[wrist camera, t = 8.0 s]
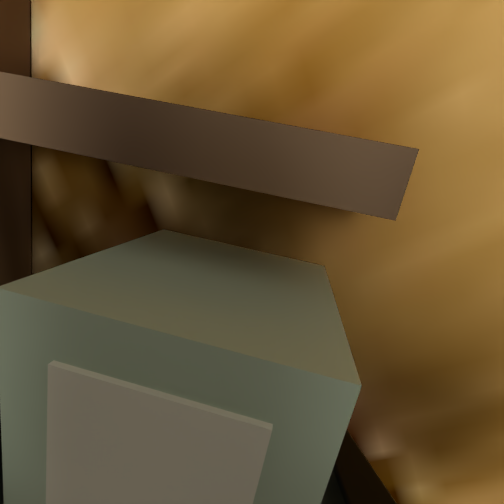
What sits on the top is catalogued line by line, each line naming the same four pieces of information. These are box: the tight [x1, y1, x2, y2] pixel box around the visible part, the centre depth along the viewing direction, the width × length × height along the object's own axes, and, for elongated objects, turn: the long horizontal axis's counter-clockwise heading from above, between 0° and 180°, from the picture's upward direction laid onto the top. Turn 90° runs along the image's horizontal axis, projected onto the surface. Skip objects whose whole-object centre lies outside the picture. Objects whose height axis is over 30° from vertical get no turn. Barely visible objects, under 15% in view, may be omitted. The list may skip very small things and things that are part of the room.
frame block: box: [0, 229, 362, 504], centre depth 7 cm, size 5×7×6 cm
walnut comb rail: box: [0, 0, 419, 504], centre depth 7 cm, size 11×26×3 cm, turn 169°
